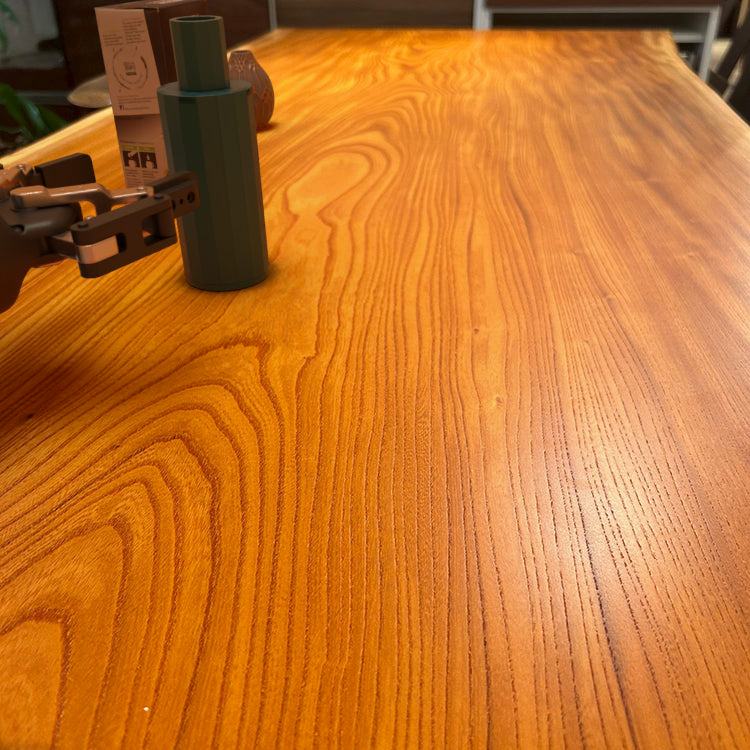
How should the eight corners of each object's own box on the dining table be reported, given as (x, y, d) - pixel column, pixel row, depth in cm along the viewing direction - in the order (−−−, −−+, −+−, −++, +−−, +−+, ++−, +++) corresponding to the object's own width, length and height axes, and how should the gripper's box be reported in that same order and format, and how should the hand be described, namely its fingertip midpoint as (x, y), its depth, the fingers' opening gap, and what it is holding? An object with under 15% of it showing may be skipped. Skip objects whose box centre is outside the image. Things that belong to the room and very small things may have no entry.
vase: (232, 137, 91) (223, 57, 87) (212, 125, 97) (203, 50, 92) (285, 129, 94) (280, 52, 90) (263, 118, 100) (257, 45, 95)
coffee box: (185, 199, 71) (157, 6, 63) (125, 194, 73) (89, 6, 65) (229, 171, 79) (209, -4, 71) (173, 167, 81) (147, -4, 72)
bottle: (172, 288, 54) (128, 24, 46) (204, 256, 59) (169, 13, 51) (254, 293, 53) (225, 24, 45) (279, 260, 58) (257, 13, 50)
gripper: (-43, 218, 30) (225, 126, 42) (-239, 171, 36) (44, 103, 48) (8, 384, 34) (240, 256, 46) (-177, 316, 40) (70, 219, 52)
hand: (139, 178), depth 47 cm, fingers open, 8 cm apart
